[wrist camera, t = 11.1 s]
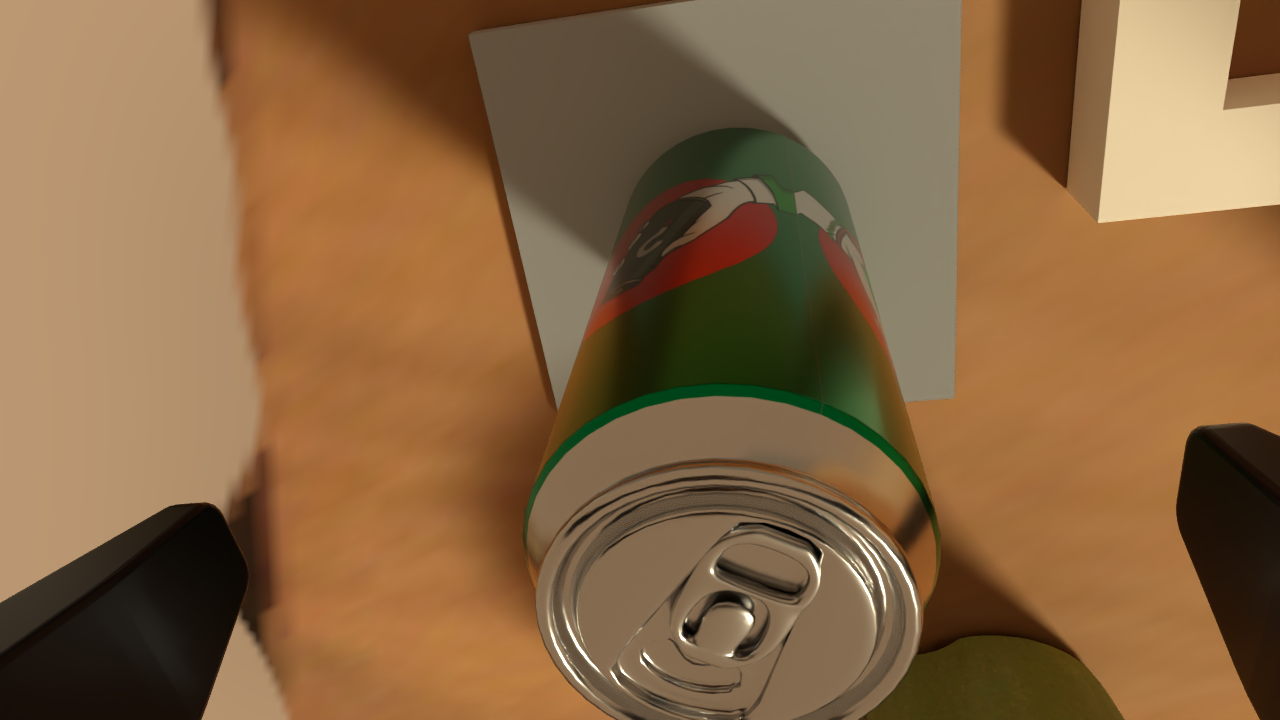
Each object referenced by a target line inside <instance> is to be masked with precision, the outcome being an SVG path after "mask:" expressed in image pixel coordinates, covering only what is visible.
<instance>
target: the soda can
mask: <svg viewBox="0 0 1280 720" xmlns="http://www.w3.org/2000/svg"><path fill="white" fill-rule="evenodd" d="M523 545H524V554H525V562H526V565H527V568H528V571H529V575H530V578H531V581H532V584H533V586H534V588H535V590H536V592H535V603H536V612H537V622H538V627H539V630H540V633H541V636H542V640H543V643H544V646H545V648H546V650H547V651H548V653H549V655H550V657H551V659H552V661H553V663H554V664H555V666H556V667H557V669H558V670H559V671H560V672H561V674H562V675H563V676H564V678H565V679H566V680H567V681H568V683H569V684H570V685H571V686H572V687H573V688H574V689H575V690H576V691H578V692H579V693H580V694H581V695H582V696H583V697H584V698H585V699H586V700H587V701H589V702H590V703H591V704H593V705H594V706H595V707H597V708H598V709H600V710H601V711H602V712H604V713H605V714H606V715H608V716H610V717H612V718H614V719H616V720H861V719H863V718H864V717H865V716H867V715H868V714H870V713H871V712H872V711H874V710H875V709H877V708H878V707H879V706H880V705H881V704H882V703H883V702H884V701H885V700H886V699H887V698H888V697H889V696H890V695H891V694H892V693H893V692H894V691H895V690H896V689H897V688H898V686H899V685H900V684H901V682H902V681H903V679H904V678H905V676H906V675H907V674H908V672H909V670H910V668H911V666H912V664H913V661H914V659H915V657H916V654H917V652H918V649H919V643H920V638H921V633H922V628H923V622H924V621H923V613H924V611H925V610H926V608H927V605H928V603H929V601H930V598H931V596H932V594H933V591H934V589H935V587H936V582H937V577H938V573H939V568H940V563H941V534H940V530H939V525H938V521H937V517H936V512H935V508H934V504H933V501H932V497H931V494H930V490H929V487H928V483H927V480H926V476H925V473H924V469H923V466H922V462H921V459H920V455H919V452H918V448H917V445H916V441H915V438H914V434H913V431H912V427H911V424H910V420H909V417H908V413H907V410H906V406H905V403H904V399H903V396H902V392H901V389H900V385H899V382H898V378H897V375H896V371H895V368H894V364H893V361H892V357H891V354H890V350H889V347H888V343H887V340H886V336H885V333H884V329H883V326H882V322H881V319H880V315H879V312H878V308H877V305H876V301H875V298H874V294H873V291H872V287H871V284H870V280H869V277H868V273H867V270H866V266H865V263H864V259H863V256H862V252H861V249H860V245H859V242H858V238H857V235H856V231H855V228H854V224H853V221H852V217H851V214H850V210H849V207H848V203H847V200H846V198H845V196H844V193H843V191H842V189H841V186H840V184H839V183H838V181H837V180H836V178H835V177H834V175H833V174H832V172H831V171H830V170H829V168H828V167H827V166H826V165H825V164H824V163H823V162H822V161H821V160H820V159H819V158H818V157H817V156H816V155H814V154H813V153H812V152H811V151H809V150H808V149H807V148H805V147H804V146H802V145H801V144H799V143H797V142H795V141H793V140H791V139H789V138H787V137H785V136H782V135H779V134H776V133H773V132H770V131H766V130H760V129H754V128H724V129H717V130H711V131H708V132H705V133H702V134H698V135H695V136H692V137H690V138H688V139H686V140H684V141H682V142H680V143H678V144H676V145H675V146H674V147H672V148H671V149H669V150H668V151H666V152H665V153H664V154H662V155H661V156H660V157H659V158H658V159H657V160H656V161H655V162H654V163H653V164H652V165H651V166H650V167H649V168H648V169H647V170H646V172H645V173H644V175H643V176H642V177H641V179H640V180H639V181H638V183H637V185H636V187H635V189H634V191H633V193H632V195H631V197H630V200H629V203H628V206H627V209H626V212H625V214H624V217H623V220H622V223H621V226H620V229H619V232H618V235H617V238H616V241H615V244H614V247H613V250H612V253H611V256H610V259H609V262H608V265H607V268H606V271H605V274H604V277H603V280H602V282H601V285H600V288H599V291H598V294H597V297H596V300H595V303H594V306H593V309H592V312H591V315H590V318H589V321H588V324H587V327H586V330H585V333H584V336H583V339H582V342H581V345H580V348H579V350H578V353H577V356H576V359H575V362H574V365H573V368H572V371H571V374H570V377H569V380H568V383H567V386H566V389H565V392H564V395H563V398H562V401H561V404H560V407H559V410H558V413H557V416H556V418H555V421H554V424H553V427H552V430H551V433H550V436H549V439H548V442H547V445H546V448H545V451H544V454H543V457H542V460H541V463H540V466H539V469H538V472H537V475H536V478H535V481H534V484H533V487H532V490H531V493H530V496H529V499H528V503H527V506H526V509H525V515H524V526H523Z"/></svg>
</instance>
